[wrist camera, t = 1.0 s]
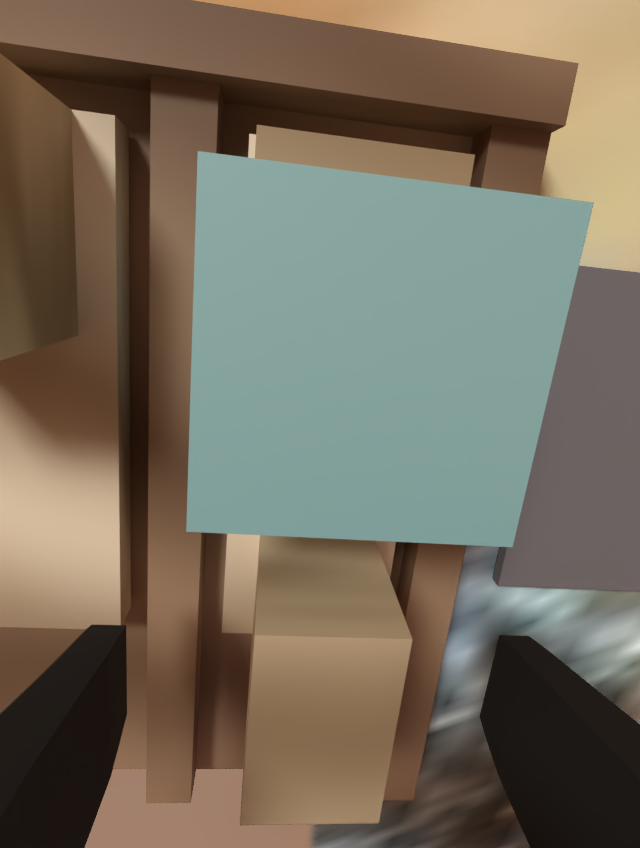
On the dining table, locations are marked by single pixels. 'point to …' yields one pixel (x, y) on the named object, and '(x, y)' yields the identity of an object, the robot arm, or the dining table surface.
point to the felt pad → (586, 450)
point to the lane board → (173, 311)
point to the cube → (370, 351)
